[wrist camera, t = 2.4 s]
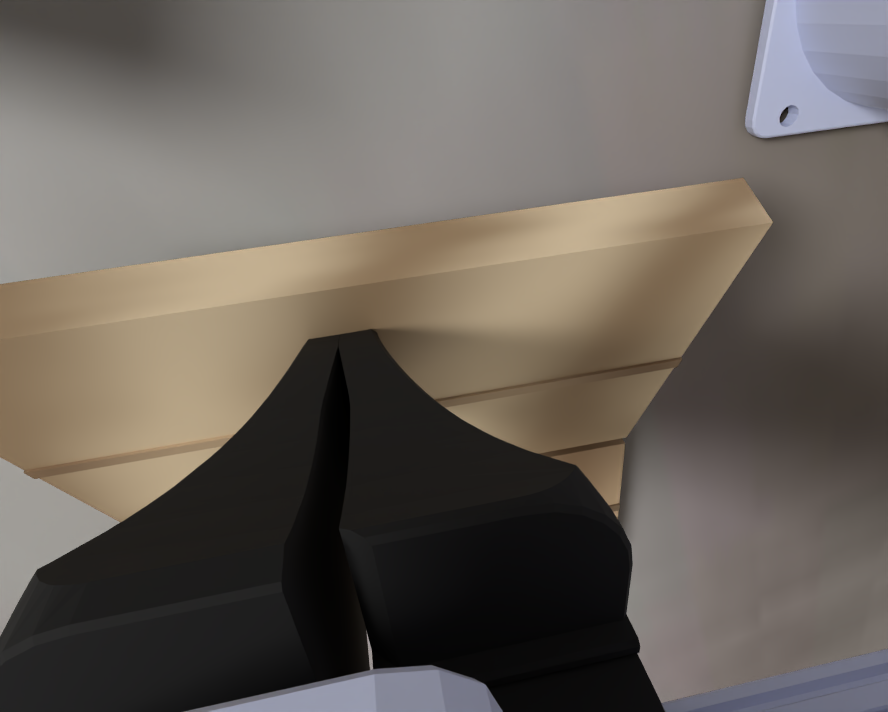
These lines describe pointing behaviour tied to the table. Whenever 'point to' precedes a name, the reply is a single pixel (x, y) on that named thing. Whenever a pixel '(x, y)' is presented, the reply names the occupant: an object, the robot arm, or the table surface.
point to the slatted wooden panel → (362, 308)
